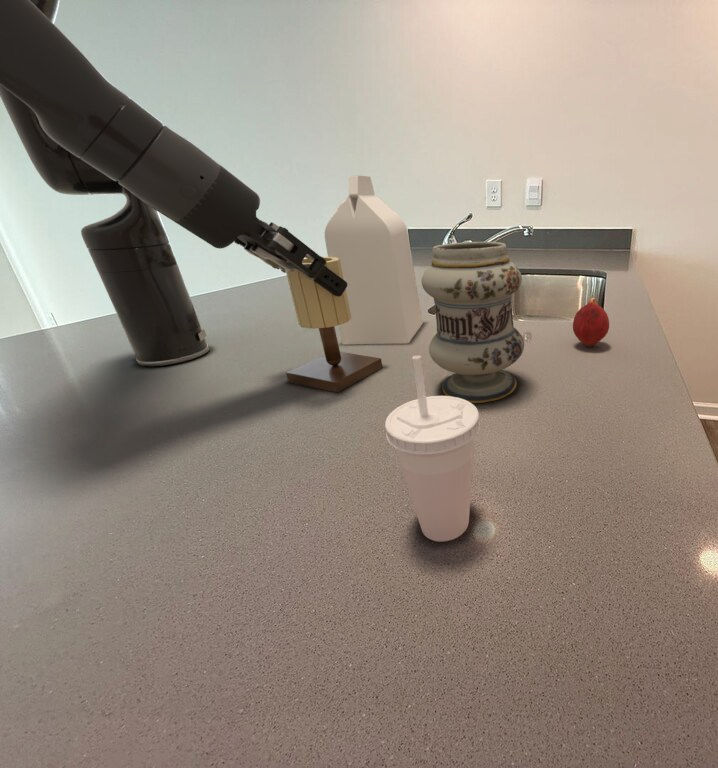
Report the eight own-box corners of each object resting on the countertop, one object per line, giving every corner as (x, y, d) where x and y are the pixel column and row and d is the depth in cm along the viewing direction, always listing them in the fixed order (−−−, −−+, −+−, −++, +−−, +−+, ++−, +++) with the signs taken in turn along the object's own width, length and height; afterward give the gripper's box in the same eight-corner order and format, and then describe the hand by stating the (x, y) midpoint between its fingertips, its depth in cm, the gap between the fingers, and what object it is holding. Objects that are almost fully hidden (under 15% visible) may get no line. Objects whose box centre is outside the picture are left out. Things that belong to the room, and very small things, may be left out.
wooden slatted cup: (288, 325, 54) (272, 263, 50) (326, 313, 59) (313, 256, 55) (325, 330, 51) (310, 265, 48) (360, 317, 56) (349, 257, 53)
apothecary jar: (474, 362, 62) (465, 237, 54) (541, 380, 55) (543, 241, 48) (414, 392, 53) (393, 247, 45) (486, 417, 46) (477, 254, 39)
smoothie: (409, 498, 34) (384, 342, 28) (485, 492, 35) (476, 338, 29) (396, 559, 29) (361, 380, 23) (487, 552, 29) (476, 374, 23)
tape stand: (288, 382, 56) (268, 312, 52) (337, 359, 64) (323, 296, 60) (337, 392, 53) (320, 318, 49) (382, 367, 61) (371, 301, 56)
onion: (607, 353, 64) (611, 303, 60) (570, 351, 65) (572, 302, 61) (607, 341, 69) (611, 294, 66) (573, 339, 70) (575, 293, 67)
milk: (408, 343, 70) (385, 174, 59) (342, 344, 70) (306, 175, 59) (423, 322, 81) (405, 176, 70) (365, 323, 81) (339, 178, 70)
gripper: (236, 156, 38) (372, 269, 50) (198, 166, 47) (322, 259, 59) (187, 221, 36) (340, 320, 49) (158, 218, 45) (294, 302, 58)
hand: (330, 286), depth 54 cm, fingers closed on wooden slatted cup, 6 cm apart
